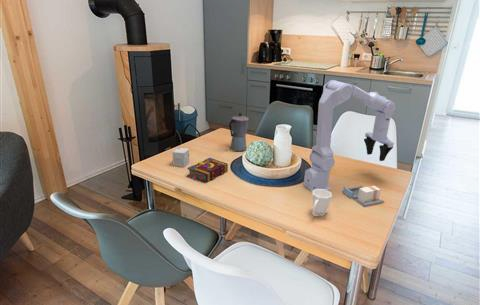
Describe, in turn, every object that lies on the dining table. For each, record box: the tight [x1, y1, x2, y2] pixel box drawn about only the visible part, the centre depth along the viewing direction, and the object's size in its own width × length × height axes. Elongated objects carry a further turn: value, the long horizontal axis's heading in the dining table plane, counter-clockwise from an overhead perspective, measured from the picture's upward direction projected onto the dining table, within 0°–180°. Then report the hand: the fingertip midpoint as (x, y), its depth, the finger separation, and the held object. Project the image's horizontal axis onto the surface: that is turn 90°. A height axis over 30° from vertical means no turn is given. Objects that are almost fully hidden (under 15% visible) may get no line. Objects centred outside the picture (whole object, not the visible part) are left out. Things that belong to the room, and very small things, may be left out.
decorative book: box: [187, 157, 229, 183], centre depth 144 cm, size 11×16×5 cm
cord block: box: [358, 185, 381, 203], centre depth 123 cm, size 7×4×5 cm, turn 110°
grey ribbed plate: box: [341, 185, 385, 208], centre depth 127 cm, size 10×13×3 cm
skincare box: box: [171, 147, 191, 168], centre depth 154 cm, size 6×6×7 cm
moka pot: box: [228, 112, 250, 152], centre depth 171 cm, size 10×15×20 cm, turn 148°
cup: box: [312, 189, 333, 217], centre depth 114 cm, size 7×10×8 cm
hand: (375, 157), depth 140 cm, fingers open, 7 cm apart
